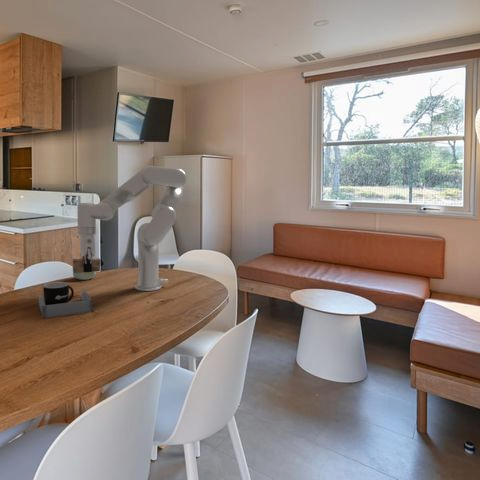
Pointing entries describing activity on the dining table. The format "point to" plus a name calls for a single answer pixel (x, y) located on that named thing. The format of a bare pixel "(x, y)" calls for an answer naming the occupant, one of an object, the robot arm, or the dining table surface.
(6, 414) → the dining table surface
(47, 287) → the mug
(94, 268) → the light brown rectangular block
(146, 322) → the dining table surface
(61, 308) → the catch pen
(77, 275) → the air freshener
